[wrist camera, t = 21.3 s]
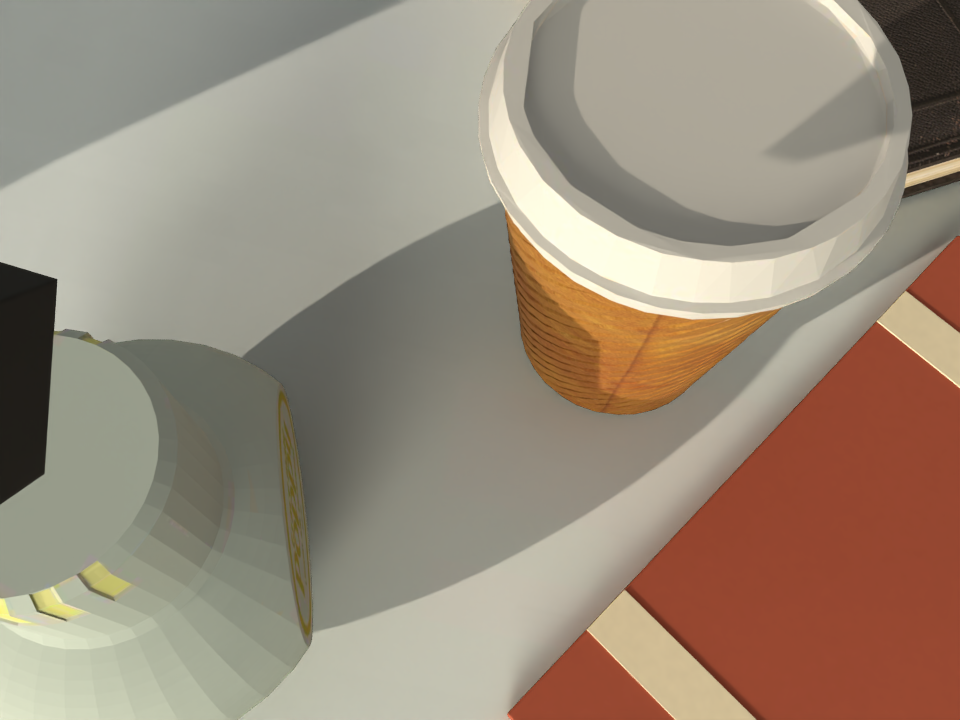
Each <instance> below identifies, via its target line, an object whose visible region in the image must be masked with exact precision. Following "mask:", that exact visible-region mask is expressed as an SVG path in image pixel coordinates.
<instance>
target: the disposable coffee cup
mask: <svg viewBox="0 0 960 720" xmlns="http://www.w3.org/2000/svg"><path fill="white" fill-rule="evenodd" d="M911 122H912V109H911V101H910V92H909V86H908V83H907V80H906V77H905V74H904V71H903V68H902V64H901V61H900V58H899V56H898V54H897V53H896V51H895V50H894V48H893V46H892V45H891V43H890V42H889V40H888V38H887V37H886V35H885V34H884V32H883V31H882V29H881V27H880V26H879V24H878V23H877V21H876V20H875V19H874V18H873V17H872V16H871V15H870V14H869V13H868V11H867V10H866V9H865V8H864V7H863V6H862V5H861V4H860V3H859V1H858V0H530V1H529V2H528V4H527V5H526V6H525V7H524V9H523V11H522V12H521V14H520V16H519V18H518V19H517V21H516V22H515V23H514V24H513V26H512V27H511V29H510V30H509V31H508V33H507V34H506V35H505V37H504V38H503V39H502V41H501V42H500V44H499V45H498V46H497V48H496V49H495V52H494V54H493V56H492V59H491V61H490V64H489V66H488V68H487V71H486V73H485V75H484V79H483V84H482V89H481V93H480V98H479V142H480V147H481V151H482V155H483V159H484V163H485V166H486V170H487V173H488V177H489V181H490V183H491V184H492V186H493V188H494V190H495V191H496V193H497V195H498V196H499V198H500V200H501V202H502V203H503V205H504V207H505V217H506V220H507V228H508V234H509V243H510V253H511V261H512V265H513V274H514V284H515V287H516V295H517V303H518V311H519V318H520V325H521V336H522V340H523V344H524V347H525V351H526V353H527V355H528V357H529V359H530V361H531V363H532V365H533V367H534V369H535V370H536V371H537V373H538V374H539V375H540V376H541V378H542V379H543V380H544V381H545V383H546V384H548V385H549V386H550V387H551V388H553V389H554V390H555V391H556V392H558V393H559V394H560V395H561V396H562V397H564V398H566V399H567V400H569V401H571V402H573V403H574V404H576V405H579V406H581V407H584V408H587V409H590V410H592V411H596V412H603V413H610V414H617V415H622V414H637V413H642V412H646V411H651V410H654V409H656V408H658V407H661V406H663V405H665V404H668V403H670V402H671V401H672V400H674V399H675V398H677V397H678V396H680V395H681V394H682V393H684V392H685V391H686V390H687V389H688V388H689V387H690V386H691V385H692V384H693V383H695V382H696V381H697V380H698V379H699V378H700V377H701V376H703V375H704V374H705V373H706V372H707V371H709V370H710V369H711V368H712V367H713V366H714V365H716V364H717V363H718V362H719V361H720V360H722V359H723V358H724V357H725V356H726V355H728V354H729V353H730V352H731V351H732V350H733V349H735V348H736V347H737V346H738V345H739V344H740V343H742V342H743V341H744V340H745V339H746V338H747V337H748V336H749V335H750V334H752V333H753V332H754V331H756V330H757V329H758V328H759V327H760V326H762V325H763V324H764V323H765V322H766V321H768V320H769V319H770V318H771V317H772V316H773V315H775V314H776V313H777V312H778V311H779V310H780V309H781V308H783V307H784V306H787V305H790V304H793V303H795V302H798V301H801V300H803V299H806V298H809V297H812V296H813V295H815V294H816V293H818V292H819V291H821V290H823V289H824V288H826V287H827V286H829V285H831V284H832V283H834V282H835V281H837V280H838V279H840V278H842V277H843V276H845V275H846V274H848V273H850V272H851V271H852V270H853V269H854V268H855V267H856V266H857V265H858V264H859V263H860V262H861V261H862V260H863V259H864V258H865V257H866V256H867V255H868V254H869V253H870V252H871V251H872V250H873V249H874V247H875V246H876V245H877V243H878V242H879V241H880V239H881V238H882V237H883V236H884V234H885V233H886V232H887V230H888V228H889V226H890V224H891V222H892V220H893V218H894V216H895V214H896V212H897V210H898V207H899V205H900V202H901V199H902V195H903V192H904V189H905V182H906V175H907V169H908V150H907V149H908V146H909V139H910V131H911Z"/></svg>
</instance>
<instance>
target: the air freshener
mask: <svg viewBox="0 0 960 720" xmlns="http://www.w3.org/2000/svg"><path fill="white" fill-rule="evenodd" d="M312 628H313V600H312V577H311V563H310V549H309V538H308V527H307V517H306V508H305V499H304V491H303V483H302V475H301V468H300V461H299V454H298V448H297V442H296V436H295V430H294V425H293V420H292V415H291V410H290V406H289V402H288V398H287V395H286V392H285V389H284V387H283V385H282V384H281V383H279V382H278V381H277V380H276V379H274V378H273V377H272V376H270V375H269V374H268V373H266V372H265V371H264V370H262V369H260V368H258V367H256V366H254V365H253V364H251V363H249V362H247V361H245V360H243V359H241V358H239V357H237V356H235V355H233V354H230V353H227V352H224V351H221V350H218V349H215V348H212V347H209V346H206V345H201V344H195V343H189V342H182V341H176V340H132V341H125V342H118V343H114V342H112V341H111V340H109V339H108V340H106V341H104V342H100V341H98V340H95V339H93V337H92V336H91V335H90V334H89V333H88V332H82V331H76V330H69V329H65V330H63V331H54V338H53V354H52V369H51V384H50V400H49V415H48V431H47V446H46V461H45V474H44V475H42V476H41V477H40V478H38V479H37V480H35V481H34V482H32V483H31V484H30V485H28V486H27V487H25V488H24V489H22V490H21V491H19V492H18V493H17V494H15V495H14V496H12V497H11V498H9V499H8V500H6V501H5V502H4V503H2V504H1V505H0V720H238V719H239V718H241V717H242V716H243V715H244V714H246V713H247V712H248V711H250V710H251V709H252V708H253V707H255V706H256V705H257V704H259V703H260V702H261V701H262V700H264V699H265V698H266V697H268V696H269V695H270V693H271V692H272V691H273V690H274V689H275V688H276V687H277V686H278V685H279V684H280V683H281V682H282V681H283V680H284V679H285V678H286V677H287V676H288V674H289V673H290V672H291V671H292V670H293V669H294V668H295V667H296V665H297V664H298V662H299V661H300V659H301V658H302V656H303V655H304V654H305V652H306V651H307V649H308V648H309V646H310V644H311V640H312Z"/></svg>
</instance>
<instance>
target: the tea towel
mask: <svg viewBox="0 0 960 720" xmlns="http://www.w3.org/2000/svg"><path fill="white" fill-rule="evenodd" d="M507 715H508V717H509V718H510V719H511V720H960V236H957V237H956V238H955V239H954V240H953V241H952V242H951V243H950V244H949V245H948V246H947V247H946V248H945V249H944V250H943V251H942V252H941V253H940V254H939V255H938V256H937V258H936V259H935V260H934V261H933V262H932V263H931V264H930V265H929V266H928V267H927V268H926V269H925V270H924V271H923V272H922V273H921V275H920V276H919V277H918V278H917V279H916V280H915V281H914V282H913V283H912V284H911V285H910V286H909V287H908V288H907V289H906V290H905V292H904V293H903V294H902V295H901V296H900V297H899V298H898V299H897V300H896V301H895V302H894V303H893V304H892V305H891V306H890V307H889V309H888V310H887V311H886V312H885V313H884V314H883V315H882V316H881V317H880V318H879V319H878V320H877V321H876V322H875V323H874V324H873V326H872V327H871V328H870V329H869V330H868V331H867V332H866V333H865V334H864V335H863V336H862V337H861V338H860V339H859V340H858V341H857V343H856V344H855V345H854V346H853V347H852V348H851V349H850V350H849V351H848V352H847V353H846V354H845V355H844V356H843V357H842V358H841V360H840V361H839V362H838V363H837V364H836V365H835V366H834V367H833V368H832V369H831V370H830V371H829V372H828V373H827V374H826V375H825V377H824V378H823V379H822V380H821V381H820V382H819V383H818V384H817V385H816V386H815V387H814V388H813V389H812V390H811V391H810V392H809V394H808V395H807V396H806V397H805V398H804V399H803V400H802V401H801V402H800V403H799V404H798V405H797V406H796V407H795V408H794V409H793V411H792V412H791V413H790V414H789V415H788V416H787V417H786V418H785V419H784V420H783V421H782V422H781V423H780V424H779V425H778V426H777V428H776V429H775V430H774V431H773V432H772V433H771V434H770V435H769V436H768V437H767V438H766V439H765V440H764V441H763V442H762V443H761V445H760V446H759V447H758V448H757V449H756V450H755V451H754V452H753V453H752V454H751V455H750V456H749V457H748V458H747V459H746V460H745V462H744V463H743V464H742V465H741V466H740V467H739V468H738V469H737V470H736V471H735V472H734V473H733V474H732V475H731V476H730V477H729V479H728V480H727V481H726V482H725V483H724V484H723V485H722V486H721V487H720V488H719V489H718V490H717V491H716V492H715V493H714V494H713V495H712V497H711V498H710V499H709V500H708V501H707V502H706V503H705V504H704V505H703V506H702V507H701V508H700V509H699V510H698V511H697V512H696V514H695V515H694V516H693V517H692V518H691V519H690V520H689V521H688V522H687V523H686V524H685V525H684V526H683V527H682V528H681V529H680V531H679V532H678V533H677V534H676V535H675V536H674V537H673V538H672V539H671V540H670V541H669V542H668V543H667V544H666V545H665V546H664V548H663V549H662V550H661V551H660V552H659V553H658V554H657V555H656V556H655V557H654V558H653V559H652V560H651V561H650V562H649V563H648V565H647V566H646V567H645V568H644V569H643V570H642V571H641V572H640V573H639V574H638V575H637V576H636V577H635V578H634V579H633V580H632V582H631V583H630V584H629V585H628V586H627V587H626V588H625V589H624V590H623V591H622V592H621V593H620V594H619V595H618V596H617V597H616V599H615V600H614V601H613V602H612V603H611V604H610V605H609V606H608V607H607V608H606V609H605V610H604V611H603V612H602V613H601V614H600V616H599V617H598V618H597V619H596V620H595V621H594V622H593V623H592V624H591V625H590V626H589V627H588V628H587V629H586V630H585V631H584V633H583V634H582V635H581V636H580V637H579V638H578V639H577V640H576V641H575V642H574V643H573V644H572V645H571V646H570V647H569V648H568V650H567V651H566V652H565V653H564V654H563V655H562V656H561V657H560V658H559V659H558V660H557V661H556V662H555V663H554V664H553V665H552V667H551V668H550V669H549V670H548V671H547V672H546V673H545V674H544V675H543V676H542V677H541V678H540V679H539V680H538V681H537V682H536V684H535V685H534V686H533V687H532V688H531V689H530V690H529V691H528V692H527V693H526V694H525V695H524V696H523V697H522V698H521V699H520V701H519V702H518V703H517V704H516V705H515V706H514V707H513V708H512V709H511V710H510V711H509V712H508V714H507Z"/></svg>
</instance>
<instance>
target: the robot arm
mask: <svg viewBox="0 0 960 720" xmlns="http://www.w3.org/2000/svg"><path fill="white" fill-rule="evenodd" d="M56 292H57V279H55V278H51V277H48V276H45V275H41V274H38V273H35V272H31V271H28V270H25V269H21V268H18V267H15V266H11V265H8V264H5V263H1V262H0V505H1V504H2V503H4V502H5V501H6V500H8V499H9V498H11V497H12V496H14V495H15V494H17V493H18V492H19V491H21V490H22V489H24V488H25V487H27V486H28V485H30V484H31V483H32V482H34V481H35V480H37V479H38V478H40V477H41V476H42V475H44V474H45V461H46V446H47V431H48V415H49V400H50V384H51V369H52V354H53V338H54V323H55V307H56Z"/></svg>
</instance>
